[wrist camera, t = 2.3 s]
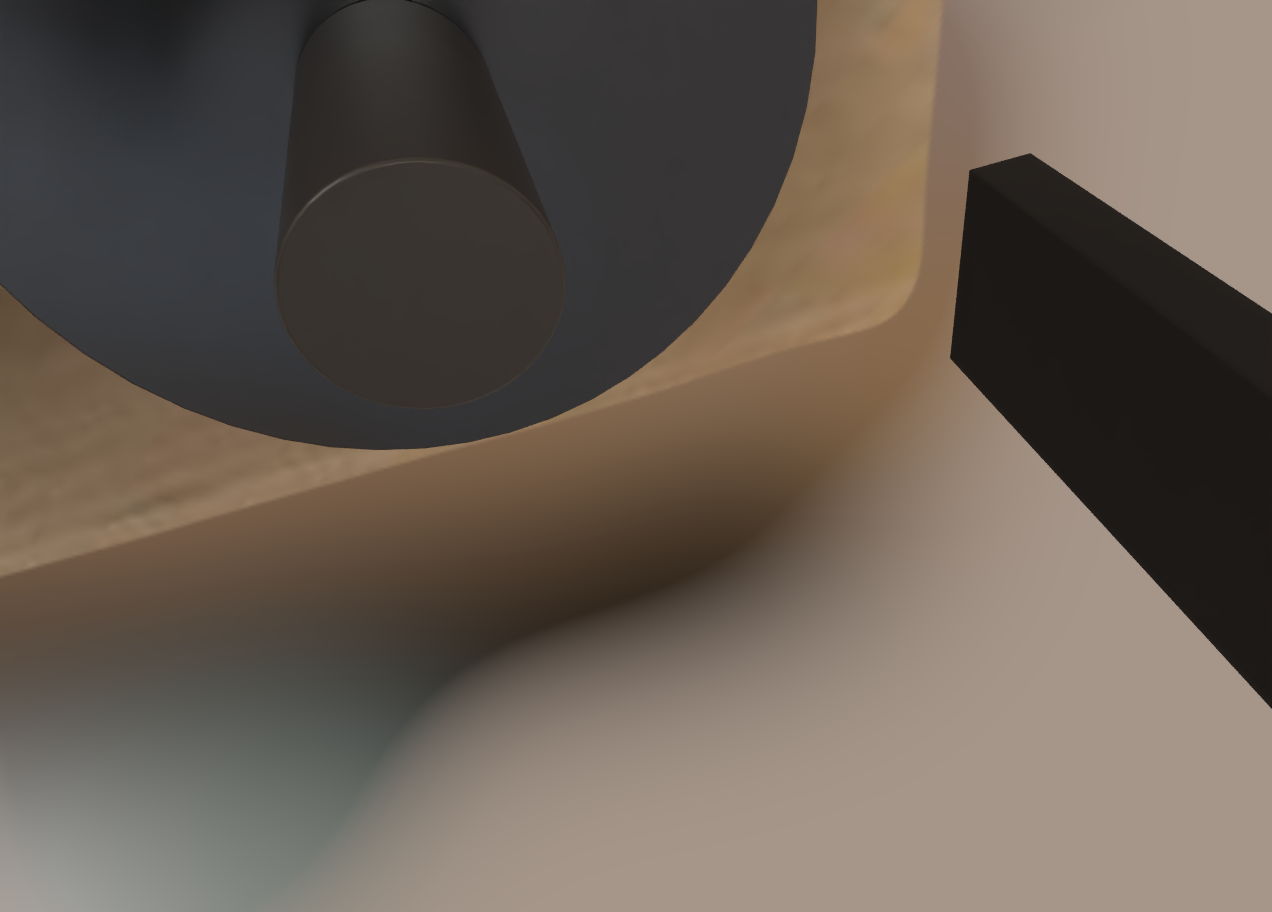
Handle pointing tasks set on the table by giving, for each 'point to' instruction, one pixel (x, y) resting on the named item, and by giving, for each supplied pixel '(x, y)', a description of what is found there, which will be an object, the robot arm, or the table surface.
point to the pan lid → (388, 196)
